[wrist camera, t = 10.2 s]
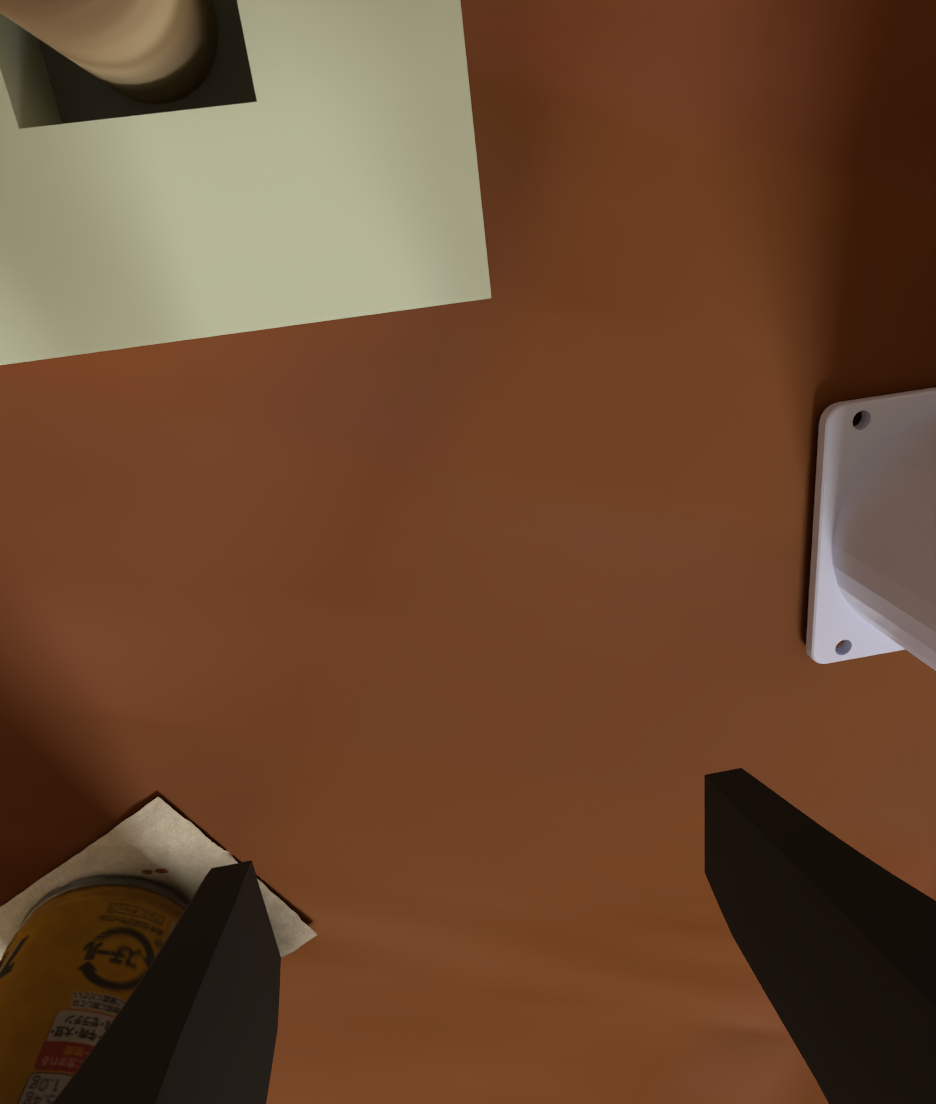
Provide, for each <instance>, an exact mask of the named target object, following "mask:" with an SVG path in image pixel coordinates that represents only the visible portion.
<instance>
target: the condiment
mask: <svg viewBox="0 0 936 1104" xmlns="http://www.w3.org/2000/svg"><path fill="white" fill-rule="evenodd" d="M236 863H238V862H237V861H236V860H234V858H233V857H232V855H231V854H230V853H229V852H228V851H225V850H223V849H222V848H220V847H219V846H217V845H216V844H215V843H213V842H212V841H211V840H210V839H208V838H207V837H206V836H205V835H204V834H203V833H202V832H201V831H200V830H199V829H198V828H197V827H196V826H194V825H193V824H192V823H191V822H190V821H188V820H186V819H185V818H183V817H182V816H181V815H180V814H178V813H177V812H176V811H175V810H173V809H172V808H171V807H170V806H169V805H168V804H166V803H165V802H164V801H163V800H162V799H161V798H159V797H157V798H155V799H154V800H153V801H151V802H150V803H148V804H147V805H146V806H144V807H143V808H142V809H141V810H139V811H138V812H137V813H135V814H134V815H132V816H131V817H129V818H127V819H126V820H124V821H123V822H121V823H120V824H119V825H117V826H116V827H115V828H114V829H113V830H111V831H110V832H109V833H107V834H106V835H104V836H103V837H101V838H100V839H98V840H97V841H95V842H94V843H92V844H91V845H89V846H88V847H87V848H85V849H84V850H83V851H82V852H80V853H79V854H77V855H75V856H73V857H72V858H71V859H69V860H68V861H67V862H65V863H64V864H62V865H60V866H59V867H58V868H56V869H54V870H53V871H51V872H50V873H48V874H47V875H45V876H44V877H42V878H41V879H39V880H38V881H36V882H35V883H34V884H33V885H31V886H30V887H28V888H27V889H26V890H24V891H23V892H22V893H20V894H19V895H17V896H15V897H14V898H13V899H11V900H10V901H9V902H7V903H6V904H4V905H3V906H1V907H0V1104H52V1103H53V1101H54V1100H55V1099H56V1097H57V1096H58V1095H59V1094H60V1092H61V1091H62V1090H63V1088H64V1087H65V1086H66V1084H67V1083H68V1082H69V1080H70V1079H71V1078H72V1076H73V1075H74V1074H75V1072H76V1071H77V1070H78V1068H79V1067H80V1066H81V1064H82V1063H83V1062H84V1060H85V1059H86V1057H87V1056H88V1055H89V1053H90V1052H91V1050H92V1049H93V1048H94V1046H95V1045H96V1043H97V1042H98V1041H99V1039H100V1038H101V1036H102V1035H103V1034H104V1032H105V1031H106V1029H107V1028H108V1027H109V1025H110V1024H111V1022H112V1021H113V1020H114V1018H115V1017H116V1015H117V1014H118V1013H119V1011H120V1010H121V1008H122V1007H123V1005H124V1004H125V1002H126V1001H127V999H128V998H129V996H130V995H131V993H132V992H133V990H134V989H135V987H136V986H137V984H138V983H139V981H140V980H141V978H142V977H143V975H144V974H145V972H146V970H147V969H148V967H149V966H150V964H151V963H152V961H153V960H154V958H155V957H156V955H157V954H158V952H159V951H160V949H161V947H162V946H163V944H164V943H165V941H166V939H167V938H168V936H169V935H170V933H171V931H172V930H173V928H174V927H175V925H176V923H177V922H178V920H179V919H180V917H181V915H182V914H183V912H184V910H185V909H186V907H187V905H188V904H189V902H190V901H191V899H192V897H193V896H194V894H195V892H196V891H197V889H198V887H199V886H200V884H201V883H202V881H203V879H204V878H205V876H206V875H207V873H208V872H209V871H210V870H211V868H215V867H220V866H225V865H231V864H236ZM164 868H165V869H166V870H168V873H156V872H155V871H156V869H164ZM143 870H151V871H152V872H153V873H151V874H150V875H147V874H143V872H141V871H143ZM257 880H258V879H257ZM258 883H259V886H260V890H261V893H262V896H263V900H264V903H265V906H266V910H267V913H268V916H269V919H270V923H271V926H272V929H273V933H274V936H275V939H276V942H277V946H278V949H279V952H280V956H281V957H283V956H285V955H287V954H289V953H291V952H293V951H295V950H296V949H298V948H299V947H300V946H301V945H303V944H304V943H306V942H307V941H309V940H310V939H312V938H314V937H315V936H316V935H317V934H316V933H315V932H314V931H313V930H312V929H311V928H310V927H309V926H308V925H306V924H305V923H304V922H303V921H301V919H300V917H299V916H298V915H297V913H295V912H294V911H293V910H291V909H290V908H289V907H288V906H287V905H286V904H285V903H284V902H283V901H282V900H281V899H280V898H278V897H277V896H276V895H274V894H273V893H272V892H271V891H270V890H269V889H268V888H267V887H266V886H265V885H264V884H263V883H262V882H261V881H260V880H258Z"/></svg>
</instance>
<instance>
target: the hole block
mask: <svg viewBox="0 0 936 1104" xmlns="http://www.w3.org/2000/svg"><path fill="white" fill-rule="evenodd" d="M211 1H212V3H213V7H214V10H215V14H216V20H217V28H218V44H217V51H216V56H215V59H214V62H213V65H212V67H211V70H210V72H209V74H208V75H207V77H206V78H205V80H204V81H203V82H202V84H201V85H200V86H199V87H198V88H197V89H196V90H195V91H193V92H192V93H191V94H189V95H188V96H186V97H184V98H182V99H180V100H177V101H174V102H170V103H162V104H152V103H145V102H140V101H137V100H134V99H131V98H129V97H127V96H125V95H123V94H121V93H119V92H118V91H116V90H115V89H113V88H112V87H110V86H109V85H107V84H106V83H104V82H103V81H101V80H100V79H98V78H97V77H95V76H94V75H92V74H91V73H89V72H88V71H86V70H85V69H83V68H82V67H80V66H79V65H77V64H76V63H74V62H73V61H71V60H70V59H68V58H67V57H65V56H64V55H62V54H61V53H59V52H58V51H56V50H55V49H53V48H52V47H50V46H49V45H47V44H46V43H44V42H43V41H41V40H40V39H38V38H37V37H35V36H34V35H32V34H31V33H29V32H28V31H26V30H25V29H23V28H22V27H20V26H19V25H17V24H16V23H14V22H13V21H11V20H10V19H8V18H7V17H5V16H4V15H2V14H1V13H0V365H5V364H13V363H20V362H27V361H35V360H42V359H49V358H56V357H64V356H71V355H78V354H86V353H93V352H100V351H108V350H115V349H122V348H130V347H137V346H144V345H152V344H159V343H166V342H174V341H181V340H188V339H195V338H203V337H210V336H217V335H225V334H232V333H239V332H247V331H254V330H261V329H269V328H276V327H283V326H291V325H298V324H305V323H313V322H320V321H327V320H334V319H342V318H349V317H356V316H364V315H371V314H378V313H386V312H393V311H400V310H408V309H415V308H422V307H430V306H437V305H444V304H452V303H459V302H466V301H473V300H481V299H488V298H491V290H490V280H489V271H488V261H487V251H486V242H485V232H484V223H483V213H482V203H481V194H480V184H479V175H478V165H477V155H476V146H475V136H474V127H473V117H472V107H471V98H470V88H469V79H468V69H467V60H466V50H465V40H464V31H463V21H462V12H461V2H460V0H211Z"/></svg>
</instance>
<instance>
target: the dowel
mask: <svg viewBox="0 0 936 1104" xmlns="http://www.w3.org/2000/svg"><path fill="white" fill-rule="evenodd" d="M0 13H1V14H2V15H4V16H5V17H7V18H8V19H10V20H11V21H13V22H14V23H16V24H17V25H19V26H20V27H22V28H23V29H25V30H26V31H28V32H29V33H31V34H32V35H34V36H35V37H37V38H38V39H40V40H41V41H43V42H44V43H46V44H47V45H49V46H50V47H52V48H53V49H55V50H56V51H58V52H59V53H61V54H62V55H64V56H65V57H67V58H68V59H70V60H71V61H73V62H74V63H76V64H77V65H79V66H80V67H82V68H83V69H85V70H86V71H88V72H89V73H91V74H92V75H94V76H95V77H97V78H98V79H100V80H101V81H103V82H104V83H106V84H107V85H109V86H110V87H112V88H113V89H115V90H116V91H118V92H119V93H121V94H123V95H125V96H127V97H129V98H131V99H134V100H137V101H140V102H145V103H152V104H162V103H170V102H174V101H177V100H180V99H182V98H184V97H186V96H188V95H189V94H191V93H192V92H193V91H195V90H196V89H197V88H198V87H199V86H200V85H201V84H202V82H203V81H204V80H205V78H206V77H207V75H208V74H209V72H210V70H211V67H212V65H213V62H214V59H215V56H216V51H217V44H218V28H217V20H216V14H215V10H214V7H213V3H212V1H211V0H0Z"/></svg>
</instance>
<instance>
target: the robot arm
mask: <svg viewBox="0 0 936 1104" xmlns="http://www.w3.org/2000/svg"><path fill="white" fill-rule="evenodd" d="M860 411H861V413H862V418H861V421H860V422H859V423H858V424H857V425H856V426H853V423H852V421H853V418H854V416H855V415H856V414H857V413H858V412H860ZM842 640H844V641H843V644H842V645H841V646H840V647H838V648H836V645H837V644H838V643H839V642H840V641H842ZM835 648H836V649H835ZM904 649H906V650H907V651H909V652H910V653H911V654H913V655H914V656H916V657H917V658H918V659H920V660H921V661H923V662H924V663H925V664H927V665H928V666H930V667H931V668H932V669H934V670H935V671H936V387H934V388H927V389H921V390H914V391H908V392H901V393H895V394H888V395H881V396H875V397H868V398H862V399H855V400H849V401H842V402H837V403H834V404H831V405H830V406H829V407H827V408H826V409H825V410H824V412H823V413H822V415H821V417H820V421H819V432H818V449H817V466H816V483H815V500H814V517H813V534H812V552H811V569H810V586H809V603H808V620H807V637H806V651H807V654H808V655H809V656H810V657H811V658H812V659H813V660H814V661H815V662H818V663H820V664H826V663H832V662H838V661H843V660H849V659H854V658H860V657H865V656H871V655H877V654H882V653H888V652H893V651H899V650H904ZM705 874H706V876H707V879H708V881H709V883H710V886H711V888H712V890H713V893H714V895H715V897H716V900H717V902H718V904H719V907H720V909H721V911H722V913H723V916H724V918H725V920H726V922H727V924H728V927H729V929H730V931H731V933H732V935H733V937H734V939H735V941H736V943H737V944H738V946H739V948H740V950H741V951H742V953H743V955H744V957H745V958H746V960H747V962H748V964H749V965H750V967H751V969H752V971H753V972H754V974H755V976H756V977H757V979H758V981H759V983H760V984H761V986H762V988H763V990H764V991H765V993H766V995H767V996H768V998H769V1000H770V1002H771V1003H772V1005H773V1007H774V1008H775V1010H776V1012H777V1014H778V1015H779V1017H780V1019H781V1020H782V1022H783V1024H784V1026H785V1027H786V1029H787V1031H788V1032H789V1034H790V1036H791V1037H792V1039H793V1041H794V1043H795V1044H796V1046H797V1048H798V1049H799V1051H800V1053H801V1055H802V1056H803V1058H804V1060H805V1061H806V1063H807V1065H808V1067H809V1068H810V1070H811V1072H812V1073H813V1075H814V1077H815V1079H816V1080H817V1082H818V1084H819V1086H820V1088H821V1090H822V1091H823V1093H824V1095H825V1097H826V1099H827V1101H828V1103H829V1104H936V901H935V900H933V899H932V898H930V897H928V896H927V895H925V894H924V893H922V892H920V891H919V890H917V889H915V888H914V887H912V886H911V885H909V884H907V883H906V882H904V881H903V880H901V879H899V878H898V877H896V876H894V875H893V874H891V873H890V872H888V871H887V870H885V869H884V868H882V867H881V866H879V865H877V864H876V863H874V862H873V861H871V860H870V859H868V858H867V857H865V856H864V855H862V854H861V853H859V852H858V851H856V850H855V849H854V848H852V847H851V846H849V845H848V844H846V843H845V842H843V841H842V840H840V839H839V838H837V837H836V836H835V835H833V834H832V833H830V832H829V831H827V830H826V829H825V828H823V827H822V826H820V825H819V824H818V823H816V822H815V821H813V820H812V819H811V818H809V817H808V816H806V815H805V814H804V813H802V812H801V811H800V810H798V809H797V808H795V807H794V806H793V805H791V804H790V803H789V802H787V801H786V800H784V799H783V798H782V797H780V796H779V795H778V794H776V793H775V792H774V791H772V790H771V789H769V788H768V787H767V786H765V785H764V784H763V783H761V782H760V781H759V780H757V779H756V778H754V777H753V776H752V775H750V774H749V773H747V772H746V771H745V770H743V769H742V768H739V769H734V770H729V771H723V772H718V773H713V774H707V775H705ZM280 964H281V956H280V952H279V949H278V946H277V942H276V939H275V936H274V933H273V929H272V926H271V923H270V919H269V916H268V913H267V910H266V906H265V903H264V900H263V896H262V893H261V890H260V886H259V883H258V880H257V877H256V873H255V870H254V867H253V863H252V861H247V862H241V863H236V864H231V865H225V866H220V867H215V868H211V870H210V871H209V872H208V873H207V875H206V876H205V878H204V879H203V881H202V883H201V884H200V886H199V887H198V889H197V891H196V892H195V894H194V896H193V897H192V899H191V901H190V902H189V904H188V905H187V907H186V909H185V910H184V912H183V914H182V915H181V917H180V919H179V920H178V922H177V923H176V925H175V927H174V928H173V930H172V931H171V933H170V935H169V936H168V938H167V939H166V941H165V943H164V944H163V946H162V947H161V949H160V951H159V952H158V954H157V955H156V957H155V958H154V960H153V961H152V963H151V964H150V966H149V967H148V969H147V970H146V972H145V974H144V975H143V977H142V978H141V980H140V981H139V983H138V984H137V986H136V987H135V989H134V990H133V992H132V993H131V995H130V996H129V998H128V999H127V1001H126V1002H125V1004H124V1005H123V1007H122V1008H121V1010H120V1011H119V1013H118V1014H117V1015H116V1017H115V1018H114V1020H113V1021H112V1022H111V1024H110V1025H109V1027H108V1028H107V1029H106V1031H105V1032H104V1034H103V1035H102V1036H101V1038H100V1039H99V1041H98V1042H97V1043H96V1045H95V1046H94V1048H93V1049H92V1050H91V1052H90V1053H89V1055H88V1056H87V1057H86V1059H85V1060H84V1062H83V1063H82V1064H81V1066H80V1067H79V1068H78V1070H77V1071H76V1072H75V1074H74V1075H73V1076H72V1078H71V1079H70V1080H69V1082H68V1083H67V1084H66V1086H65V1087H64V1088H63V1090H62V1091H61V1092H60V1094H59V1095H58V1096H57V1097H56V1099H55V1100H54V1101H53V1103H52V1104H266V1100H267V1094H268V1088H269V1081H270V1075H271V1068H272V1062H273V1055H274V1049H275V1042H276V1035H277V1027H278V1009H279V990H280Z"/></svg>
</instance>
